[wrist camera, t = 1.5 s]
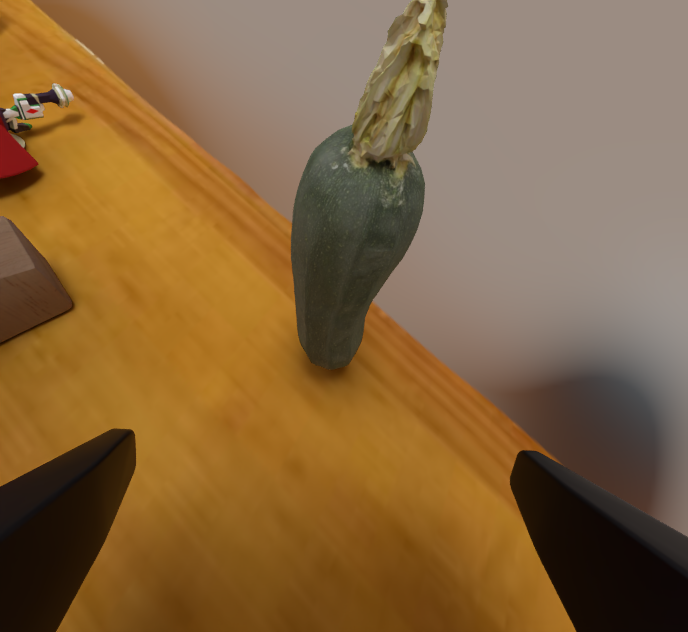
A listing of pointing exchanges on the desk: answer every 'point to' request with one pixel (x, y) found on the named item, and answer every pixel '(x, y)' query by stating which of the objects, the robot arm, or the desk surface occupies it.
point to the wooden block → (26, 284)
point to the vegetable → (365, 192)
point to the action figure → (24, 128)
